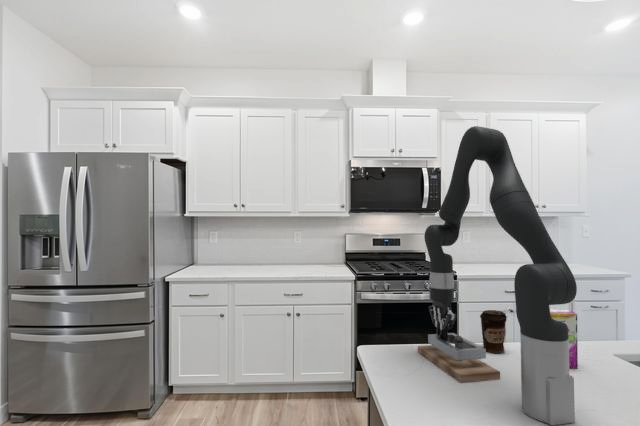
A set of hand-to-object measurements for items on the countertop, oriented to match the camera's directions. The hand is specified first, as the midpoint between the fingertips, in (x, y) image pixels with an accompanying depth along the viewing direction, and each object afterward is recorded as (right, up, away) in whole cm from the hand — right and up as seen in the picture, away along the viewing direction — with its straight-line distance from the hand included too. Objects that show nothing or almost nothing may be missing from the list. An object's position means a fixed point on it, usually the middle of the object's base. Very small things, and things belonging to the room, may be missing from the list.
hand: (442, 339), depth 115 cm
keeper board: (+2, -5, -7) cm, 9 cm away
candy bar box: (+31, -5, -8) cm, 33 cm away
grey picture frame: (+2, -1, -7) cm, 7 cm away
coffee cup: (+19, -6, +5) cm, 21 cm away
